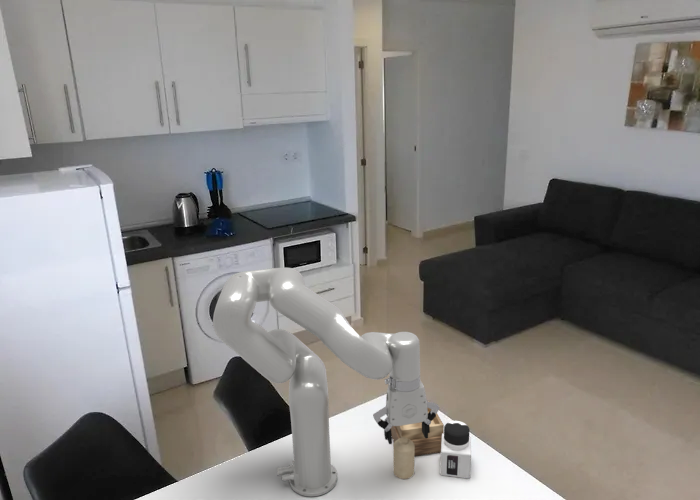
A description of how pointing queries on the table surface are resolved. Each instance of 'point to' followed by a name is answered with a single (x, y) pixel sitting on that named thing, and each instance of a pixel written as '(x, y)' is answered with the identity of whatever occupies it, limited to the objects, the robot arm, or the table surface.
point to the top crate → (416, 429)
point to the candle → (403, 458)
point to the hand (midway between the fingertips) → (407, 438)
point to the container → (456, 450)
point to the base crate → (422, 443)
